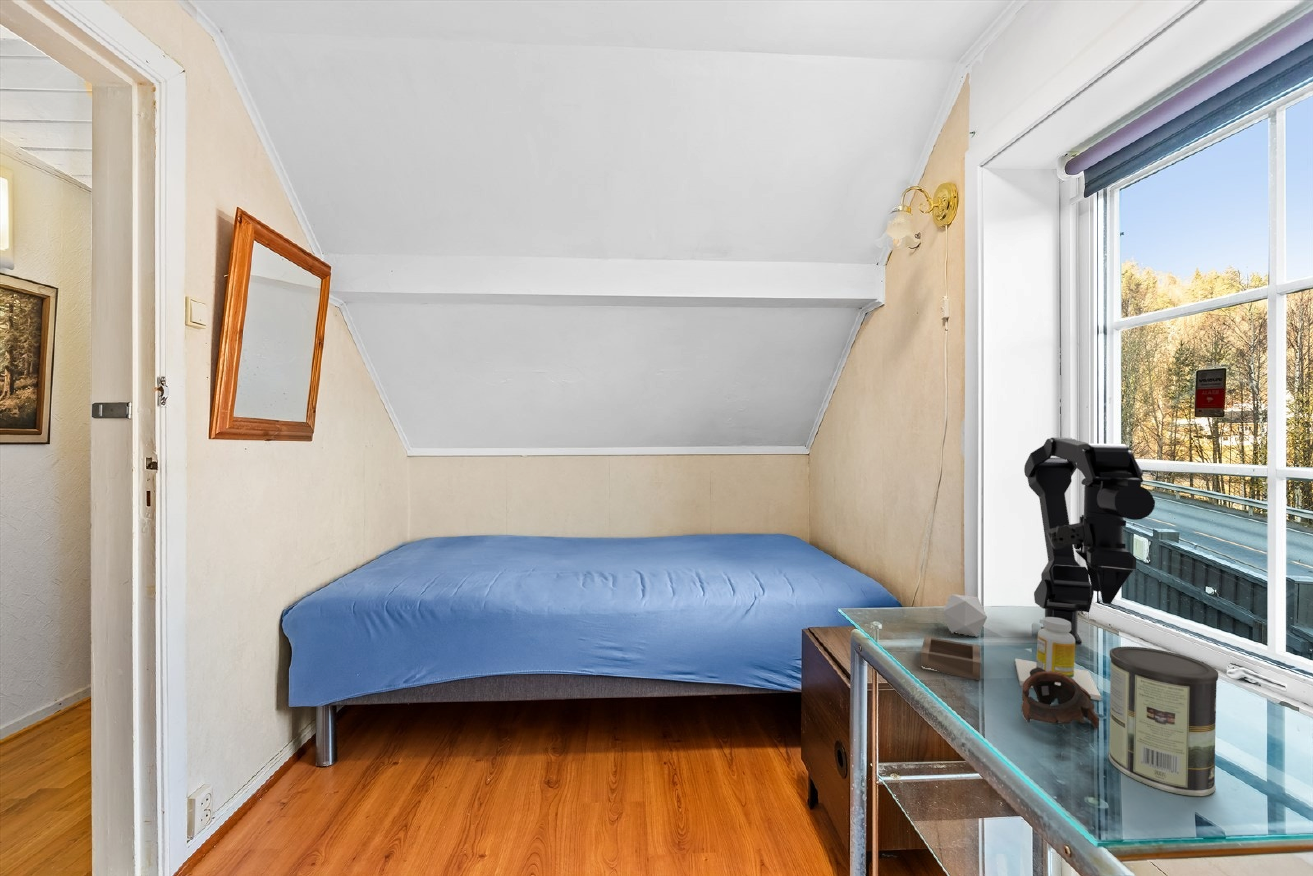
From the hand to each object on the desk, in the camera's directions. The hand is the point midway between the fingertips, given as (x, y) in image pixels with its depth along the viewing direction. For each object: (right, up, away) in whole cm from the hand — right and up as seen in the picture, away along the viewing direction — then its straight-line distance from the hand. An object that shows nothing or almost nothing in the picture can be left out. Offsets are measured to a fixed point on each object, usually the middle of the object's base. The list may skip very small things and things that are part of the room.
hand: (1101, 597), depth 105 cm
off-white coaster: (-12, -13, -6) cm, 19 cm away
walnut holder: (-27, -13, 0) cm, 30 cm away
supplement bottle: (-12, -12, -6) cm, 18 cm away
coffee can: (-18, -13, -32) cm, 39 cm away
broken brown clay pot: (-22, -13, -20) cm, 32 cm away
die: (-16, -13, +18) cm, 27 cm away
